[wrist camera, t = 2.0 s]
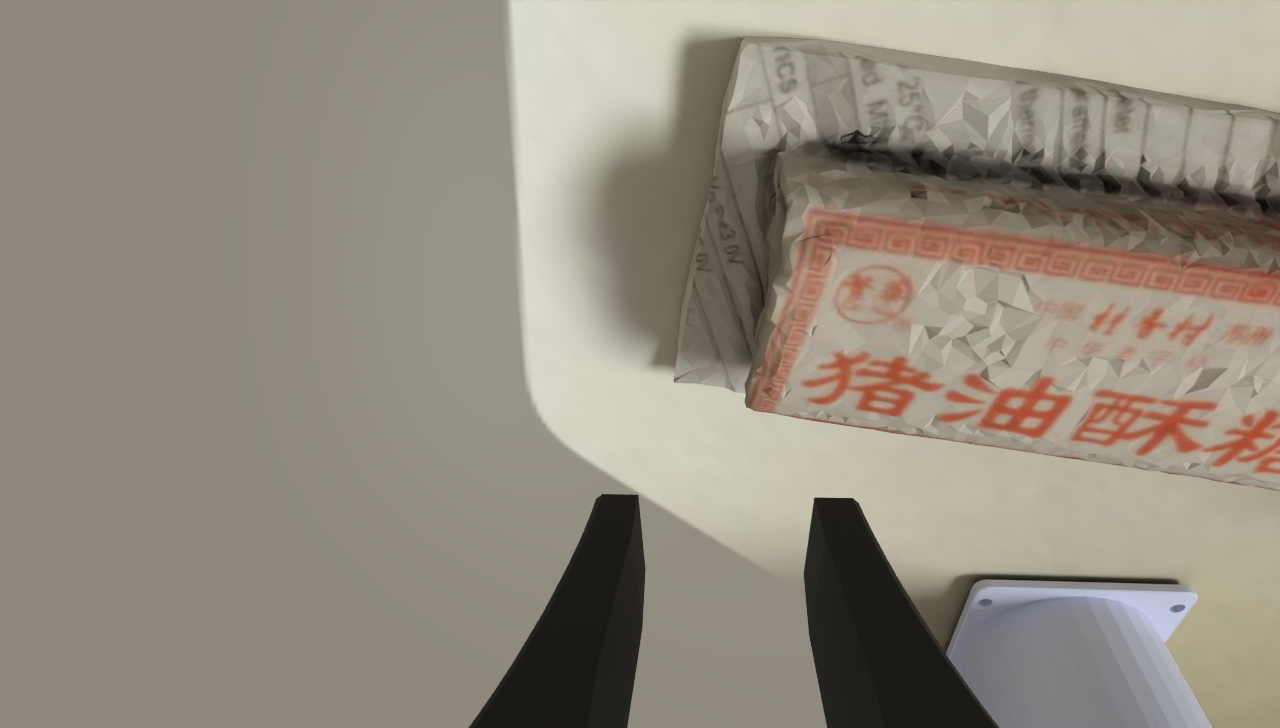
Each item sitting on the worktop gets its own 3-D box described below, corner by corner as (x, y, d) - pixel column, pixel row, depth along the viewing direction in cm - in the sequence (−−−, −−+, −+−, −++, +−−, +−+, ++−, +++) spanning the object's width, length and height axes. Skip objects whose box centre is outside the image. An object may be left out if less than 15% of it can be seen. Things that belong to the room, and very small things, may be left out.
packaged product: (1744, 227, 12) (1327, 562, 18) (1495, 133, 16) (1220, 435, 22) (743, 80, 12) (663, 469, 18) (734, 19, 16) (670, 358, 22)
